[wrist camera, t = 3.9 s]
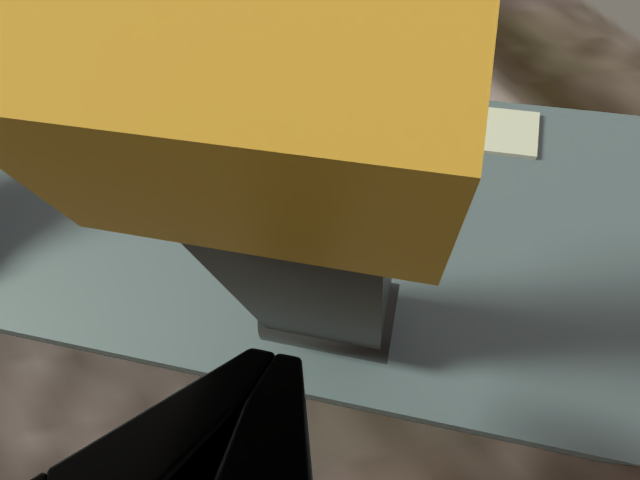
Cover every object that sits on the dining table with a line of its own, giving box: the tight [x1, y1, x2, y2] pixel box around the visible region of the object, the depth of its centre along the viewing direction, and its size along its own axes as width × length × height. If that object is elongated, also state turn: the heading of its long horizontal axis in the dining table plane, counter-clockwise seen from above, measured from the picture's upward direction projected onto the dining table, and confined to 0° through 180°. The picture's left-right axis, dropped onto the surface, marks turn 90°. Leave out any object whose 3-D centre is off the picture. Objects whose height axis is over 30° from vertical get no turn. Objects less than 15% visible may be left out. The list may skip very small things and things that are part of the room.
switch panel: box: [0, 101, 640, 466], centre depth 17 cm, size 10×30×3 cm, turn 78°
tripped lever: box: [0, 0, 500, 364], centre depth 9 cm, size 2×4×11 cm, turn 78°
